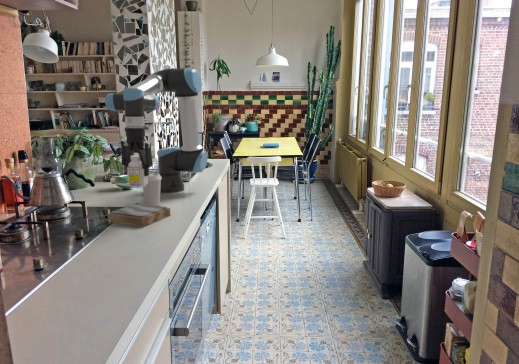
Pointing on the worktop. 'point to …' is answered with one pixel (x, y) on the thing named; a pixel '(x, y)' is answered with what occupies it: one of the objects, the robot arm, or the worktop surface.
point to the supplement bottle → (135, 172)
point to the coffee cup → (152, 189)
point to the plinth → (139, 214)
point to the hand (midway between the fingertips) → (137, 182)
